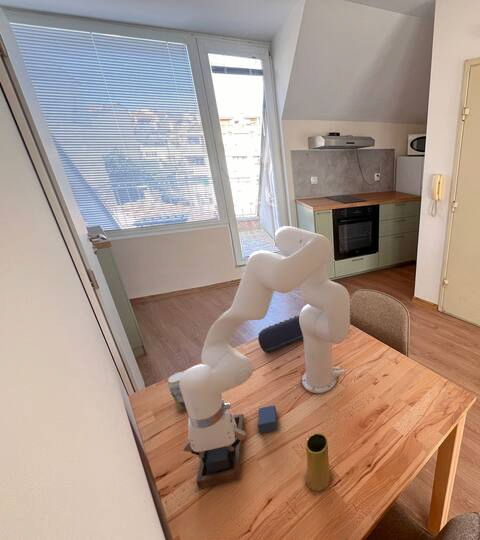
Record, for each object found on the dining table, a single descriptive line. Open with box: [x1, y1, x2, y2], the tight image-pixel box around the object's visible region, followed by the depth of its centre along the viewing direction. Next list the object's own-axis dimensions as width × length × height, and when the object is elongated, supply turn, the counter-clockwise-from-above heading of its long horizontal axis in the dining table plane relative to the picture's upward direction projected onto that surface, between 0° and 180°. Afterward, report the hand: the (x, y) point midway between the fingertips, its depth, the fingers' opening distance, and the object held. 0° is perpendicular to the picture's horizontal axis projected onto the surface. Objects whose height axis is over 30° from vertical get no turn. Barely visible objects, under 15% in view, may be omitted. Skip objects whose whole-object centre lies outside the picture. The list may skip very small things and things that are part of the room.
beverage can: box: [167, 370, 187, 411], centre depth 95 cm, size 6×7×12 cm
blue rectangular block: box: [257, 404, 278, 435], centre depth 90 cm, size 5×6×4 cm
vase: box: [305, 432, 331, 492], centre depth 74 cm, size 6×6×14 cm
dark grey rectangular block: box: [206, 446, 230, 474], centre depth 78 cm, size 5×6×4 cm
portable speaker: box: [257, 314, 303, 353], centre depth 126 cm, size 25×10×10 cm, turn 130°
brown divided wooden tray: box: [195, 413, 245, 490], centre depth 82 cm, size 10×18×3 cm, turn 15°
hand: (220, 458), depth 78 cm, fingers closed on dark grey rectangular block, 5 cm apart
